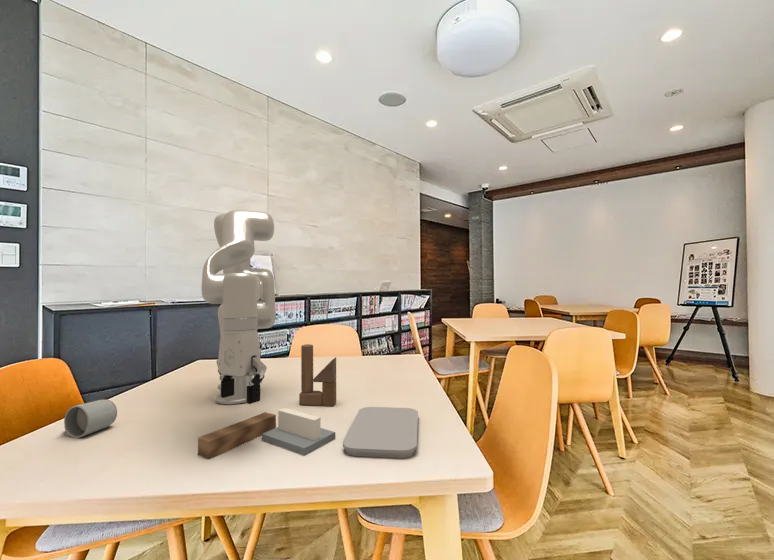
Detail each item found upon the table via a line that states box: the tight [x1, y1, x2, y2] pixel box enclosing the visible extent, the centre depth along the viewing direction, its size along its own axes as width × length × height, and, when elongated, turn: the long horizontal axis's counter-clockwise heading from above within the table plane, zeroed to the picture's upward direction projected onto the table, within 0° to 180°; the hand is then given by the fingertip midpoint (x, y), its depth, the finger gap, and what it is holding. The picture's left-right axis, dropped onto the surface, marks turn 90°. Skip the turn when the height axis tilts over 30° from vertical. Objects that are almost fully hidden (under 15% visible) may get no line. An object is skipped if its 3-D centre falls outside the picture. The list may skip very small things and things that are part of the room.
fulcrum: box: [261, 407, 336, 456], centre depth 85 cm, size 14×10×6 cm
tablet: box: [342, 406, 419, 459], centre depth 88 cm, size 16×26×2 cm, turn 174°
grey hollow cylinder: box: [63, 399, 118, 439], centre depth 90 cm, size 11×8×8 cm
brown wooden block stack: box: [298, 344, 337, 407], centre depth 110 cm, size 4×11×18 cm, turn 83°
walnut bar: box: [197, 411, 277, 460], centre depth 84 cm, size 18×4×4 cm, turn 149°
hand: (240, 399), depth 83 cm, fingers open, 9 cm apart
